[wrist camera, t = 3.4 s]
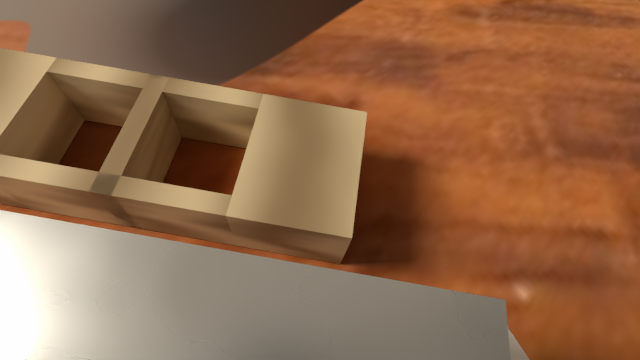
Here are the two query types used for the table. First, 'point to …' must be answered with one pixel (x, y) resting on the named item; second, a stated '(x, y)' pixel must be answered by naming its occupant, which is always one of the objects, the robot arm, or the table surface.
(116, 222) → the beige open box
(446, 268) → the table surface
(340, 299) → the grey notched block
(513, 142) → the table surface
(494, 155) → the table surface
